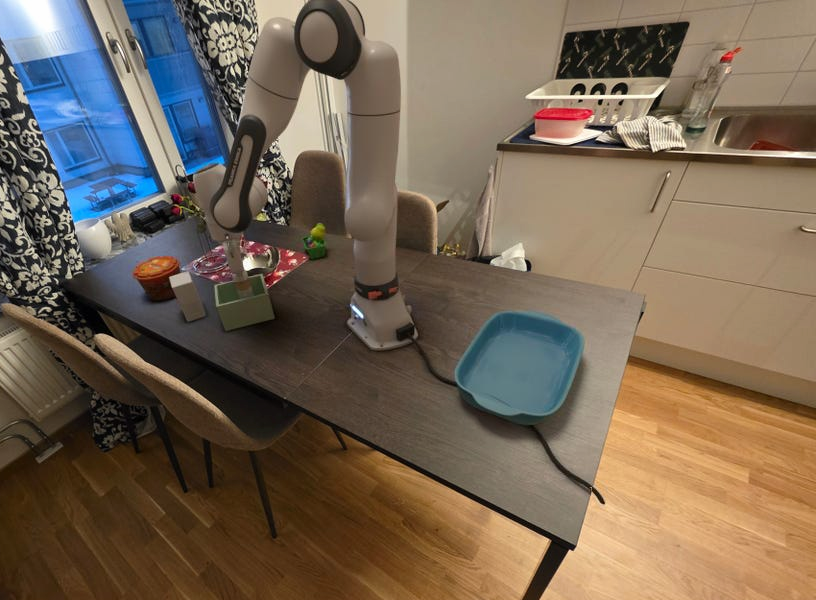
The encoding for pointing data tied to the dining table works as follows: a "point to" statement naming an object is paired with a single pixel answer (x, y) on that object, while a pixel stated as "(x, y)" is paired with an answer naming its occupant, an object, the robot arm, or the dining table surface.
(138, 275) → the food container
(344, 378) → the dining table surface
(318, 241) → the fruit basket
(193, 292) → the small box
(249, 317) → the bin
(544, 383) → the casserole dish
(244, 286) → the sprinkles bottle
